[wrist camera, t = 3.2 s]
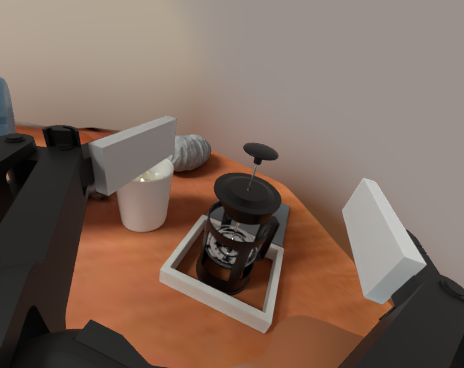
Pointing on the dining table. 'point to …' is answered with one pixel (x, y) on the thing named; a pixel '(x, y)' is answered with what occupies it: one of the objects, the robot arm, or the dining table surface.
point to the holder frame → (218, 298)
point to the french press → (241, 211)
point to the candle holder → (146, 198)
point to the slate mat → (252, 229)
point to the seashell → (189, 152)
